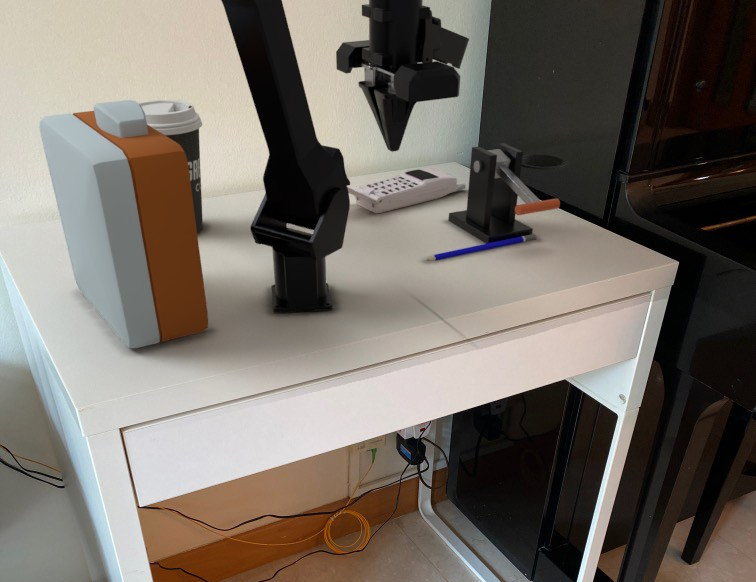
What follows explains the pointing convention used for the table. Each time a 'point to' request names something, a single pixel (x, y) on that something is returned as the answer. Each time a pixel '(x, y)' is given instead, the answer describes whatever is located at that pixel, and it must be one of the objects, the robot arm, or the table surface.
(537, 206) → the switch lever
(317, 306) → the robot arm
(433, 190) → the mobile phone
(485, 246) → the pencil
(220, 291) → the table surface
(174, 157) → the alarm clock
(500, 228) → the switch bracket
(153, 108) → the coffee cup
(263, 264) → the table surface
